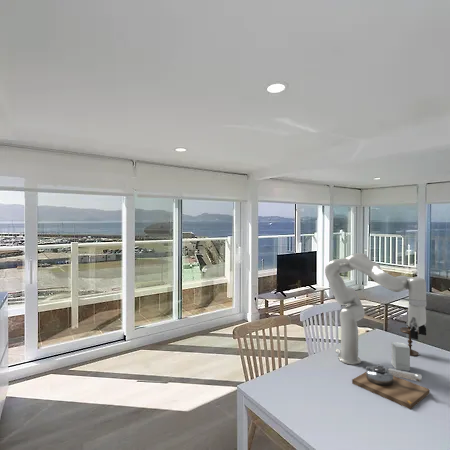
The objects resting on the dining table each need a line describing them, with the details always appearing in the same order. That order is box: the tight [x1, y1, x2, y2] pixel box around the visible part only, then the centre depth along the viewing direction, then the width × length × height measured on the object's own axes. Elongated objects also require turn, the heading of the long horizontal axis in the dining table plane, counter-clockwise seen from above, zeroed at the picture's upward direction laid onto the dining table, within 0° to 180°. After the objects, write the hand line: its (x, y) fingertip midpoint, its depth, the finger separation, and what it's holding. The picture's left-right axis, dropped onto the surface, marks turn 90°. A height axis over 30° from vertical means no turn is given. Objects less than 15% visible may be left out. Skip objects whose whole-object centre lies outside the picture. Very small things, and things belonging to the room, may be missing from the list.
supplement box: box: [391, 341, 411, 372], centre depth 171 cm, size 7×7×13 cm
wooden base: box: [351, 371, 431, 410], centre depth 149 cm, size 27×21×2 cm
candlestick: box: [399, 303, 420, 357], centre depth 190 cm, size 11×11×35 cm
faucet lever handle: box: [365, 364, 423, 386], centre depth 150 cm, size 24×12×7 cm, turn 59°
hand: (418, 336), depth 153 cm, fingers open, 9 cm apart
